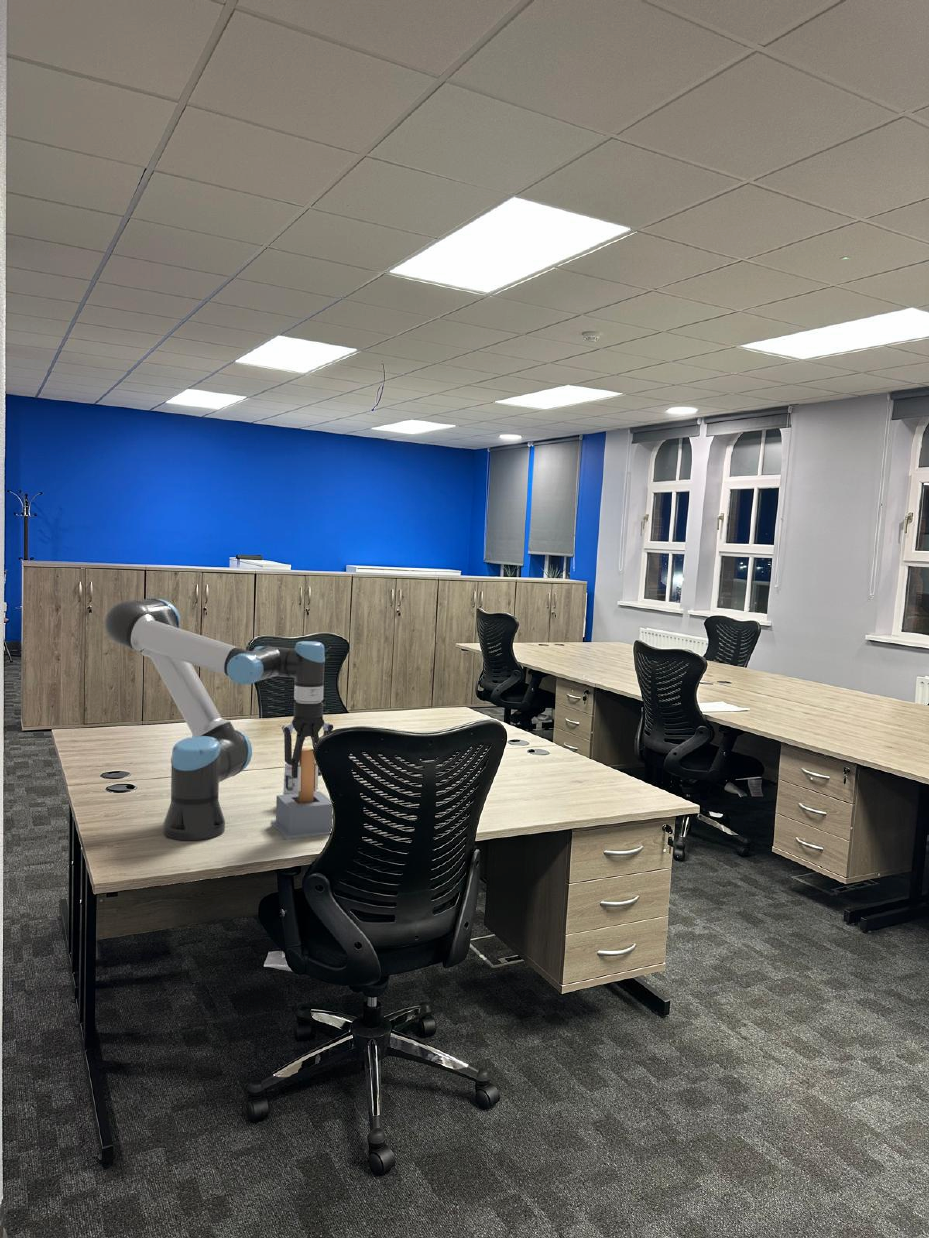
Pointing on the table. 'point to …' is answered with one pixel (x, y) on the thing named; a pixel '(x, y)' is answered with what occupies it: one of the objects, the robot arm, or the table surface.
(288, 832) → the socket block
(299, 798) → the dowel
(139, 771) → the table surface
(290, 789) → the ink box
